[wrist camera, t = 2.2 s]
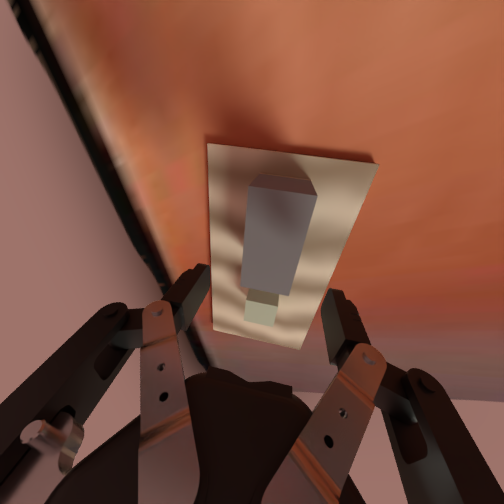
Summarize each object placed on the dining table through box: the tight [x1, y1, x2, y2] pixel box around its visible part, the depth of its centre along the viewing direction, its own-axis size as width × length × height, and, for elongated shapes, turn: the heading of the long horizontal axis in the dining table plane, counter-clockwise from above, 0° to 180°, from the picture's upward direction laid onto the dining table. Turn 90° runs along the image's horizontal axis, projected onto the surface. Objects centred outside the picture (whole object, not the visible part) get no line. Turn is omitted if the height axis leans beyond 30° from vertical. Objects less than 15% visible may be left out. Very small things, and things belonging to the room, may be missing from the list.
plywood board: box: [207, 143, 379, 350], centre depth 26 cm, size 30×16×1 cm, turn 175°
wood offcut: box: [244, 288, 279, 327], centre depth 25 cm, size 4×4×4 cm
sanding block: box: [240, 173, 318, 296], centre depth 18 cm, size 10×5×6 cm, turn 175°
